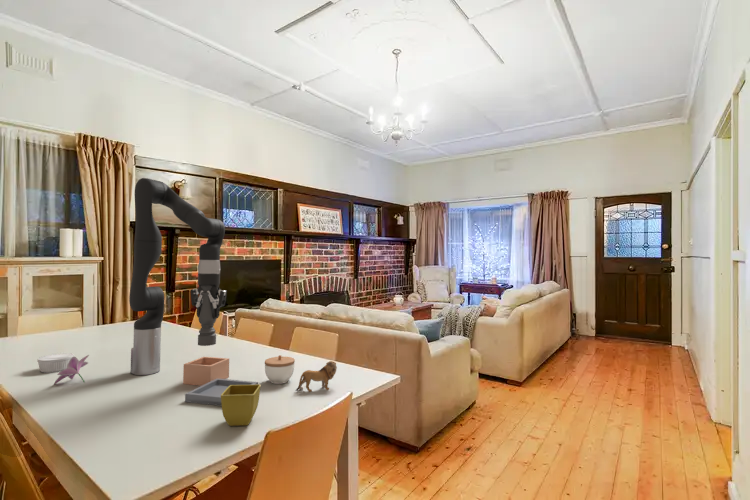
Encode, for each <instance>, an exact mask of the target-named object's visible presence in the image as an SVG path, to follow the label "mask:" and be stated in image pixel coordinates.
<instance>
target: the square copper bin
mask: <svg viewBox="0 0 750 500" xmlns="http://www.w3.org/2000/svg"><path fill="white" fill-rule="evenodd" d="M182 369H183V370H182V371H183V373H182V375H183V377H182V384H183V385H193V386H199V387H200V386H202V385H204V384H206V383H208V382H211V381H213V380H215V379H217V378H218V379H228V378H230V358H226V357H213V356H201V357H198V358H197V359H194V360H190V361H188V362H185V363H183V368H182Z"/></svg>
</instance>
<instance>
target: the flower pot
mask: <svg viewBox="0 0 750 500" xmlns="http://www.w3.org/2000/svg"><path fill="white" fill-rule="evenodd" d="M260 394H261V384H258V385H230V386H229V387H228V388H227V389H226V390H225V391H224V392H223V393H222V394H221V404H222V406H221V413H222V415H223V416H222V417H223V419H224V420H225V423H227V425H228V426H231V427H236V426H249V424H250V423H251V421H252V420H253V418H254V415H255V413H256V411H257V409H258V406H259V401H260Z"/></svg>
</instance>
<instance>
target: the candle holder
mask: <svg viewBox="0 0 750 500" xmlns="http://www.w3.org/2000/svg"><path fill="white" fill-rule="evenodd" d="M201 288H202V290H203V291H204V292H201V295H203V301H202V308H201V311H200V315H199V318H198V322H199V324H200V329H199V330H198V333H199V334H198V335H197V346H200V347H208V346H214V345H216V344H217V333H216V329H215V327H214V326H215V323H216V322H217V318H216V319H213V309H214V307H213V304H212V303H211V301H210V298H209V296H208V295H209V293H208V292H207V291H210V290H211V288H212V286H201Z"/></svg>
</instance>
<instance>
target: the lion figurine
mask: <svg viewBox="0 0 750 500" xmlns="http://www.w3.org/2000/svg"><path fill="white" fill-rule="evenodd" d="M337 369H338V367H337V362H335V361H333V360H330V361H328V362H326V364H325V365H324V366H322V368H320V369H319V370H311V369H308V370H305V371H304V372H302V374H301V376H300V378H299V383H298V387H297V388H296V389H295V391H297V392H298V391H299V390H303V389H304V387H303V386H302V385H304V384H305V388H306V390H307V391H308V392H310V393H311V392H312V391H313V389H311V388H310V385H311V381H313V382H318V383H319V382H321V388H324V389H325V390H327V391H329V390H330V387H328V386H329V381H330V380H332V379H333V378H334V376H335V375H336V373H337Z"/></svg>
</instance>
